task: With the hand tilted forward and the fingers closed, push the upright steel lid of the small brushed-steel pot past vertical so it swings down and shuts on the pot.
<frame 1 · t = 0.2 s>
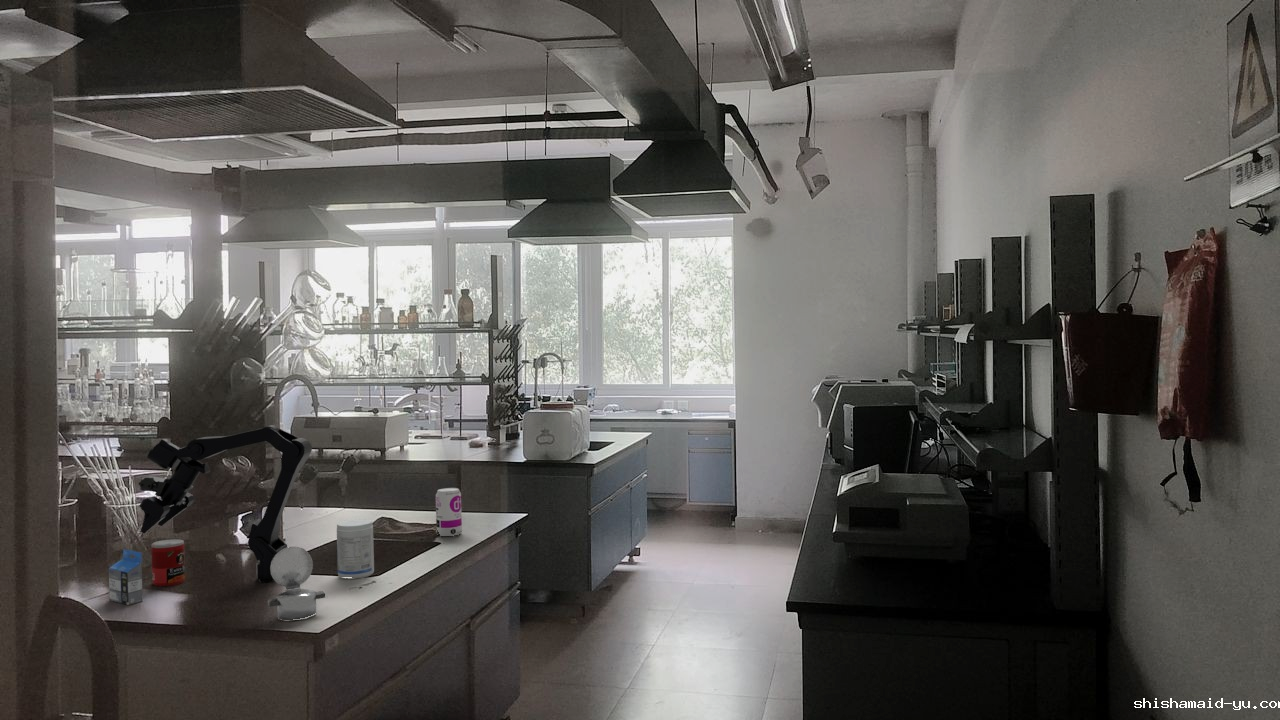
hand: (151, 528, 228), 15 cm above the countertop, tool tilted 35°, fingers open, 9 cm apart
supplement can: (449, 535, 281), on the countertop
supplement tub: (356, 576, 233), on the countertop
blue and grey carton: (126, 601, 213), on the countertop
lid: (291, 567, 203), point 10 cm above the countertop, hinge at 100.0°
pot: (297, 615, 198), on the countertop
canned food: (168, 583, 229), on the countertop
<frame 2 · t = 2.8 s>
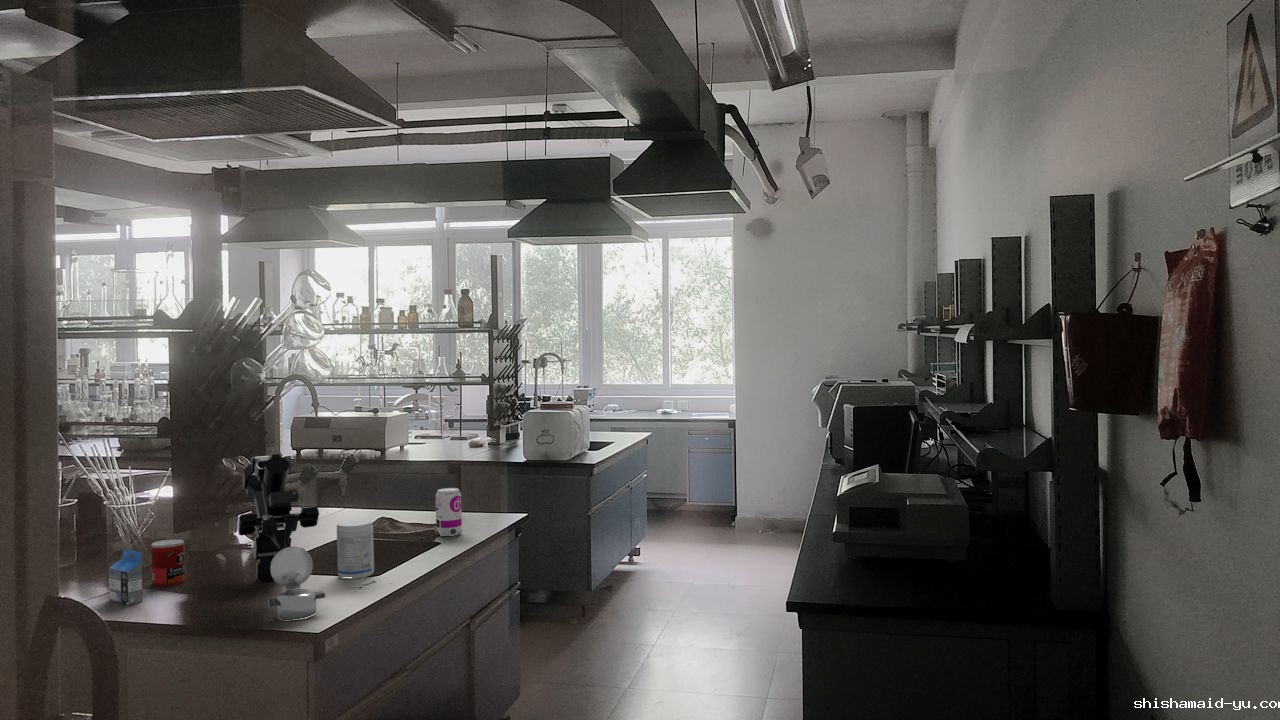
hand: (283, 547, 212), 13 cm above the countertop, tool tilted 45°, fingers closed
nothing on the countertop moved.
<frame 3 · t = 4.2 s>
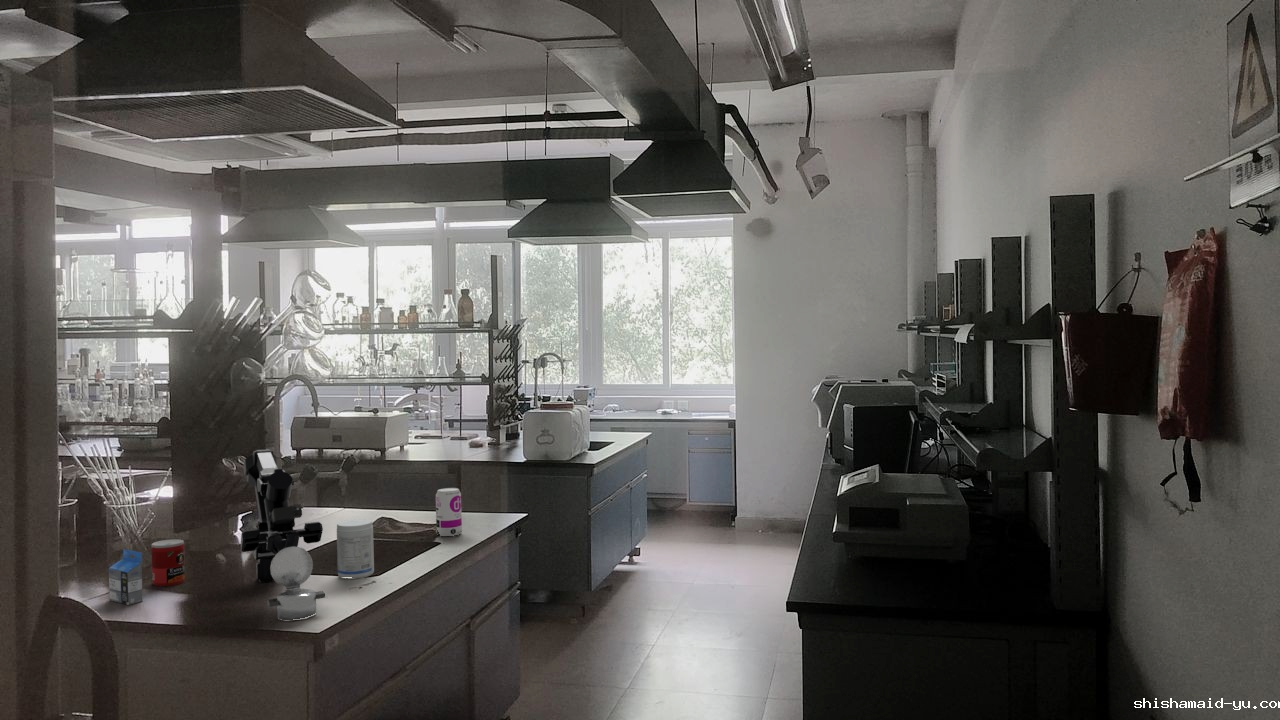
hand: (286, 564, 209), 9 cm above the countertop, tool tilted 45°, fingers closed
nothing on the countertop moved.
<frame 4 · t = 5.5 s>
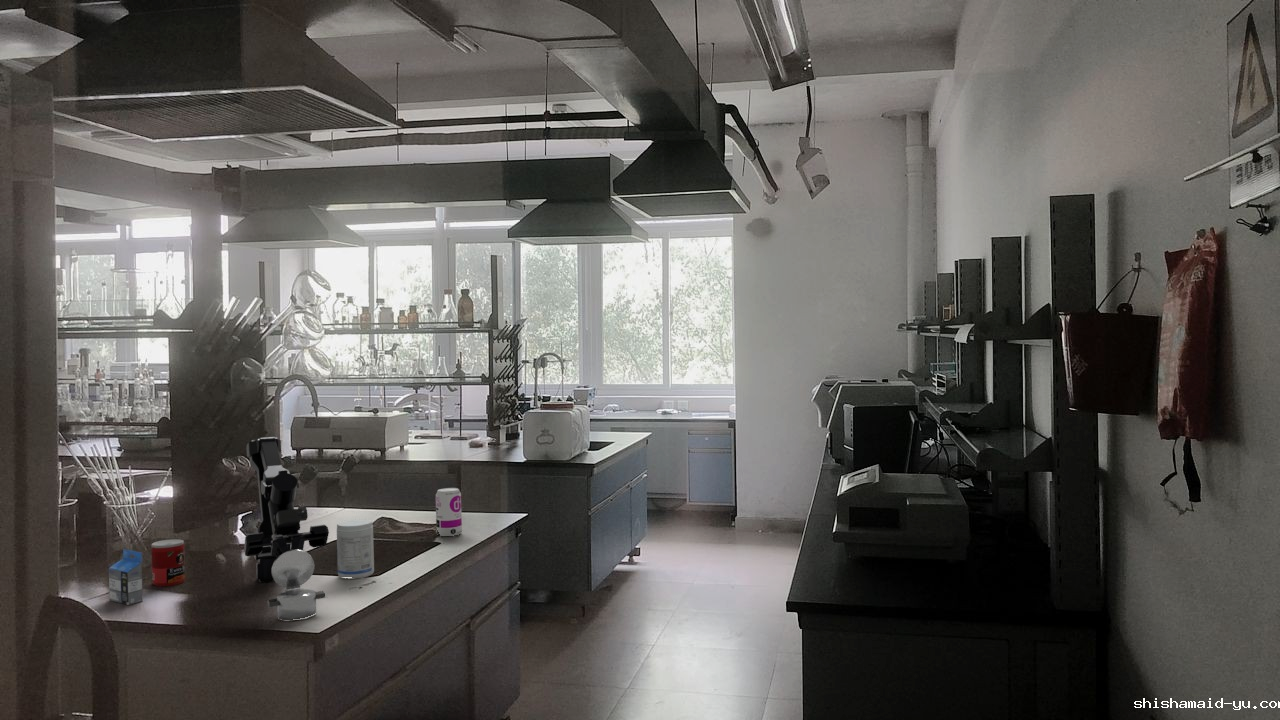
hand: (292, 569, 202), 10 cm above the countertop, tool tilted 45°, fingers closed, pressing on lid
lid: (292, 568, 201), point 10 cm above the countertop, hinge at 76.9°, touching gripper
everything else where it was.
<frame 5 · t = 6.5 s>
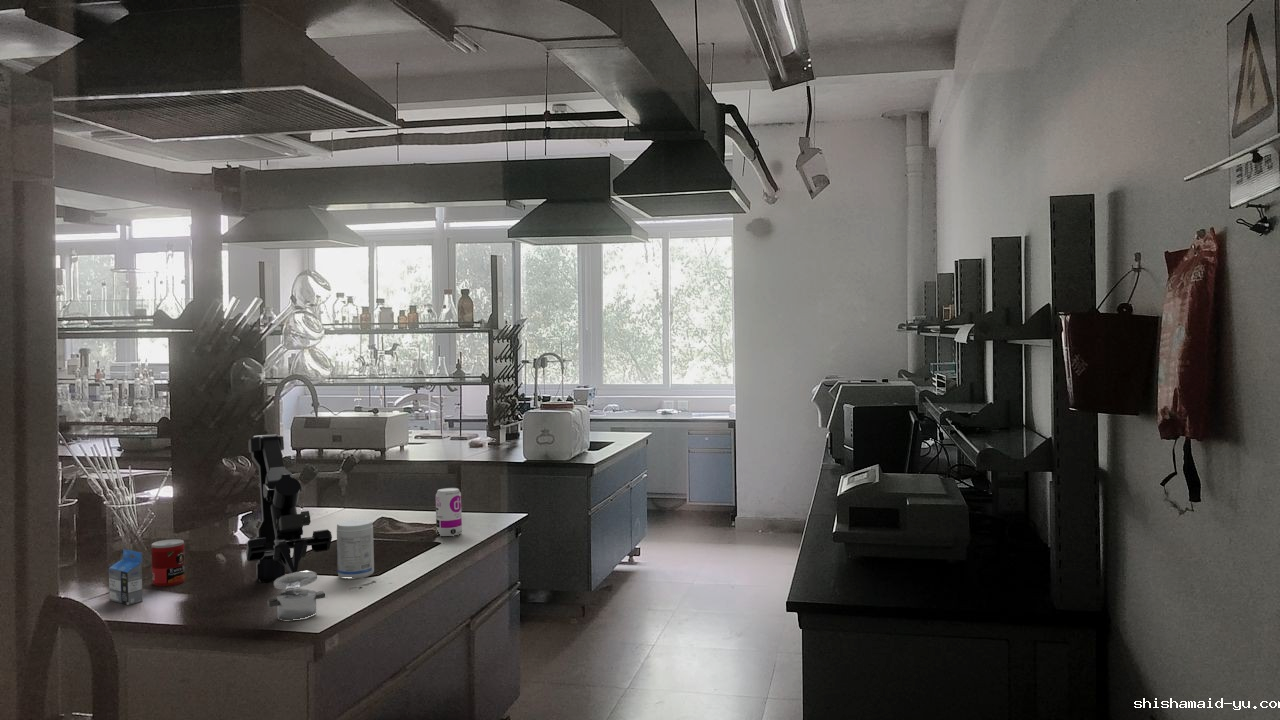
hand: (294, 575, 199), 9 cm above the countertop, tool tilted 45°, fingers closed
lid: (295, 578, 199), point 8 cm above the countertop, hinge at 31.9°
everything else where it was.
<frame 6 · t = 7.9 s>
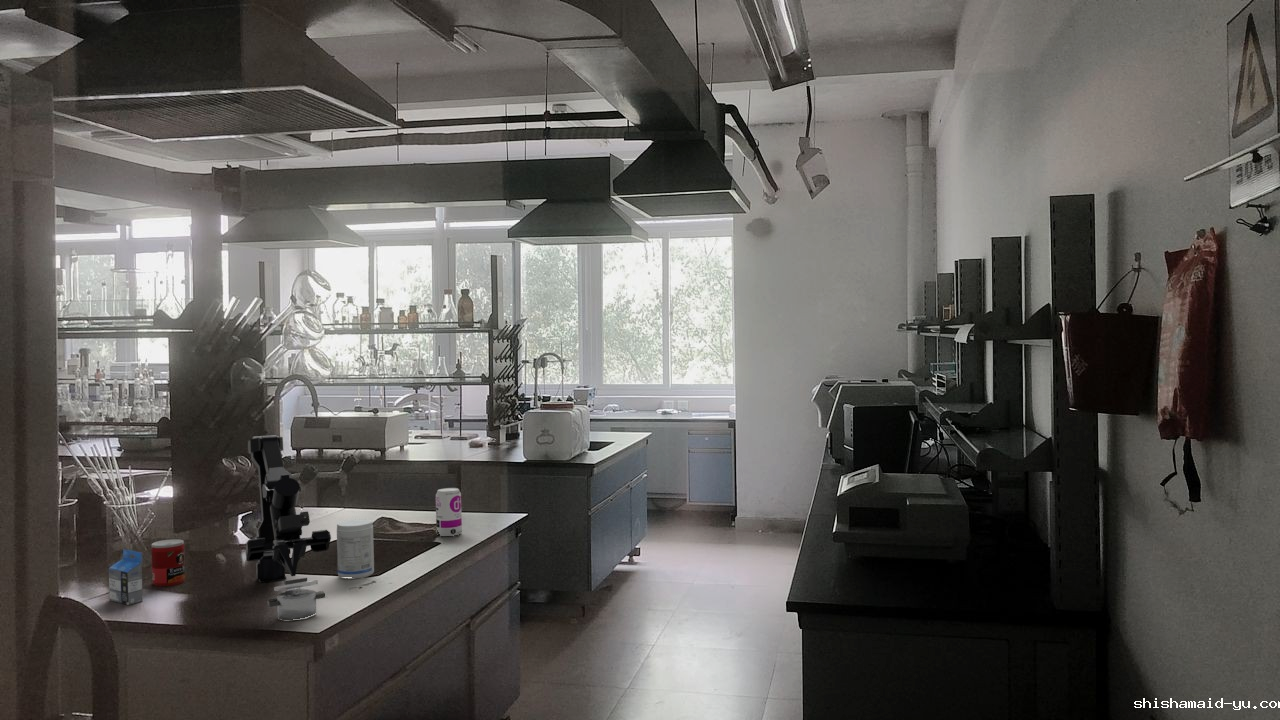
hand: (293, 575, 200), 9 cm above the countertop, tool tilted 45°, fingers closed
lid: (295, 583, 198), point 7 cm above the countertop, hinge at 16.3°
everything else where it was.
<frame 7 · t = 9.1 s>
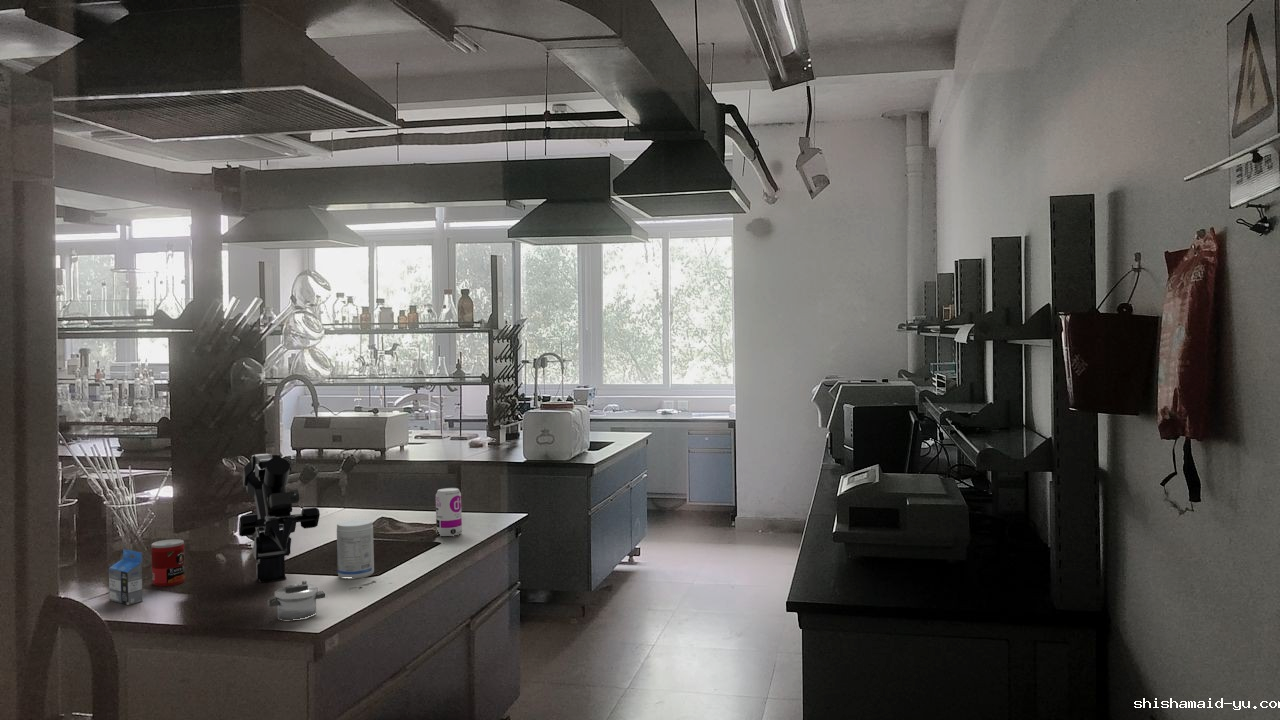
hand: (284, 549, 212), 12 cm above the countertop, tool tilted 45°, fingers closed
lid: (296, 589, 198), point 6 cm above the countertop, hinge at -1.9°, touching pot
everything else where it was.
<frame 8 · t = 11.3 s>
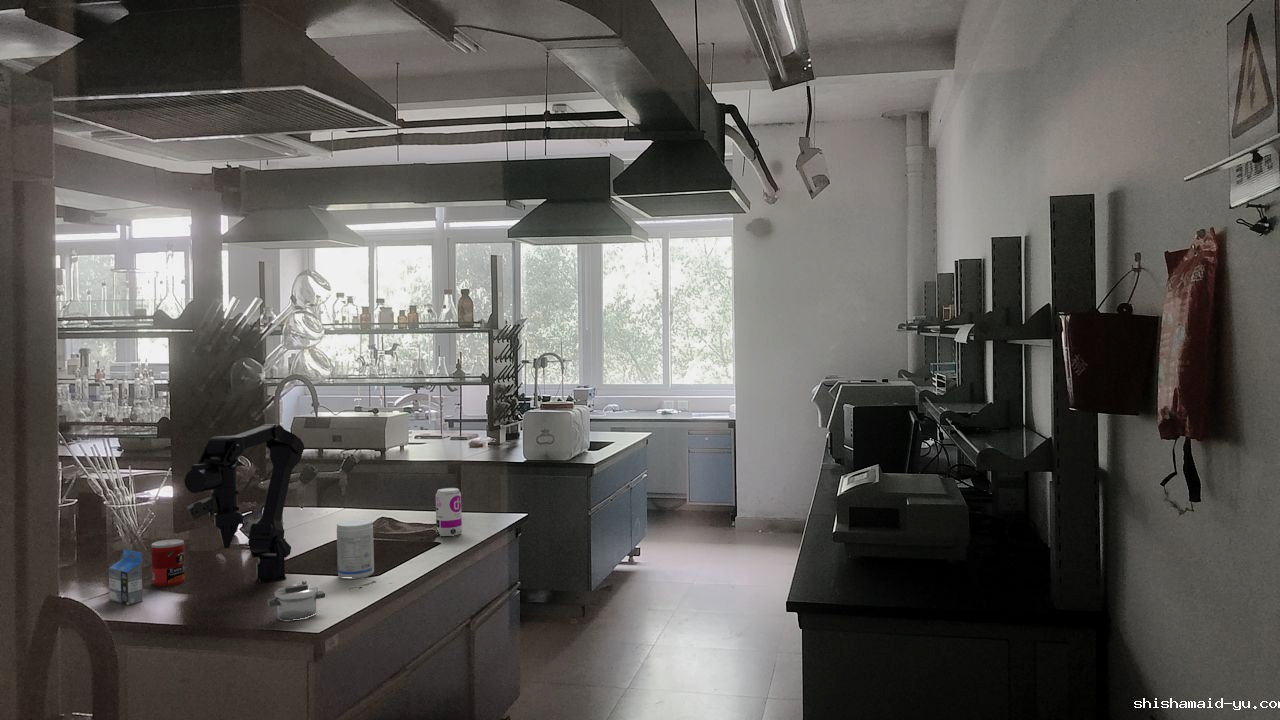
hand: (226, 548, 214), 12 cm above the countertop, tool pointing down, fingers closed
nothing on the countertop moved.
at the end: lid at -2° (first picture: +100°) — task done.
